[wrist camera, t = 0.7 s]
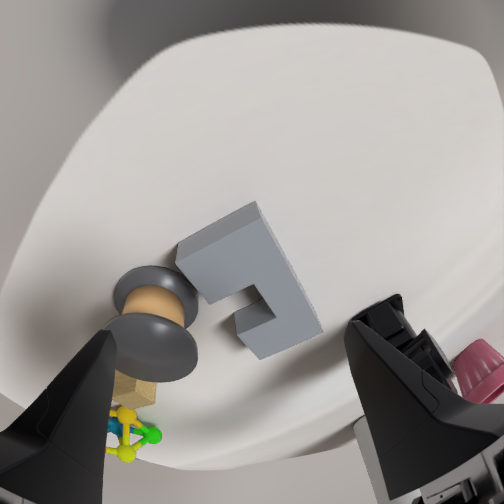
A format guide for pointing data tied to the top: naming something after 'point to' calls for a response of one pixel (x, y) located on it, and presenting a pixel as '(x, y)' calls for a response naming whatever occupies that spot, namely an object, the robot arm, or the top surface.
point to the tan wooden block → (133, 391)
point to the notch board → (250, 280)
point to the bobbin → (154, 325)
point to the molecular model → (123, 431)
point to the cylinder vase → (377, 466)
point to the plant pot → (480, 373)
